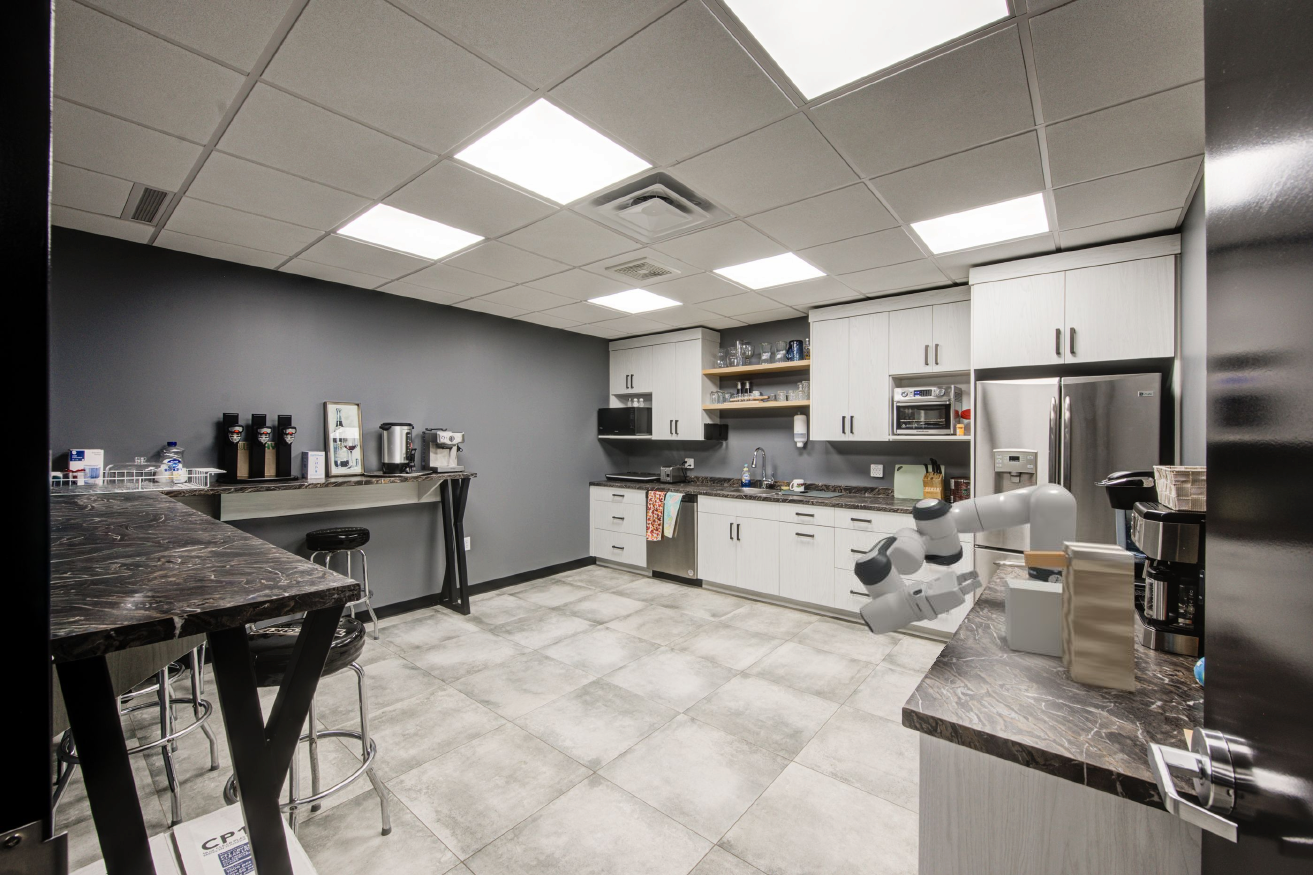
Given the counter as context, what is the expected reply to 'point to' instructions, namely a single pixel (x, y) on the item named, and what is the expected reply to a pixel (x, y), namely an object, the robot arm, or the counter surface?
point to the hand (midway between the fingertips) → (979, 577)
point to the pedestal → (1033, 616)
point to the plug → (1046, 559)
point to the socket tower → (1098, 615)
